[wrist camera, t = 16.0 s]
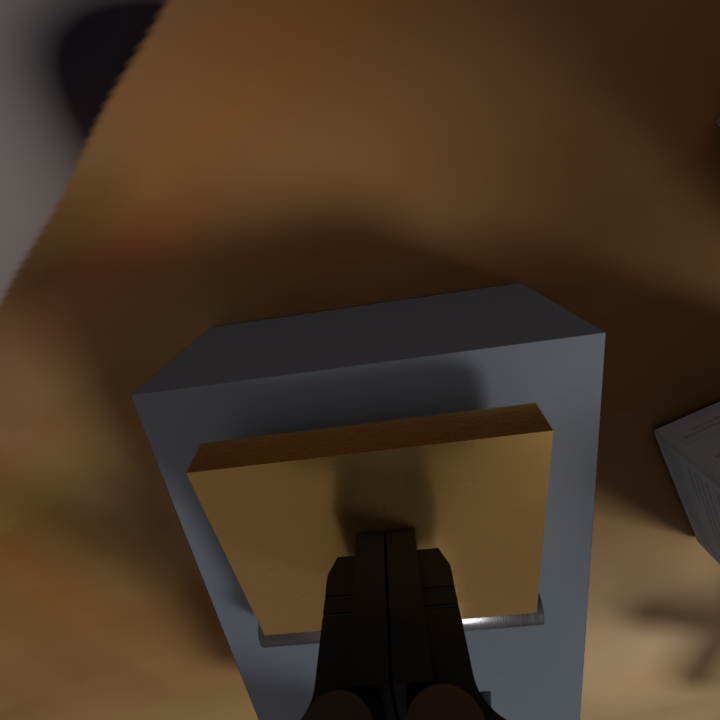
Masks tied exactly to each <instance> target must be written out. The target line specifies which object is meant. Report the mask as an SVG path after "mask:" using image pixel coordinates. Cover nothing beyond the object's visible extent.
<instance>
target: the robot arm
mask: <svg viewBox="0 0 720 720" xmlns="http://www.w3.org/2000/svg"><path fill="white" fill-rule="evenodd" d="M386 539H387V545H386ZM386 539H385V534H384V531H377V532H366V533H356V541H355V556H345V557H337V559H336V561H335V563H334V564H333V566H332V568H331V570H330V572H329V574H328V575H327V583H326V592H325V601H324V609H323V618H322V627H321V635H320V644H319V653H318V662H317V670H316V679H315V687H314V693H313V696H312V700H311V702H310V705H309V707H308V709H307V710H306V712H305V714H304V716H303V717H302V718H301V720H506V719H505V718H503V717H502V716H500V715H499V714H498V713H496V712H495V711H494V710H493V709H492V708H491V707H490V706H489V705H488V704H487V702H486V701H485V700H484V698H483V697H482V695H481V693H480V692H479V690H478V687H477V685H476V683H475V679H474V676H473V671H472V666H471V661H470V657H469V652H468V647H467V642H466V638H465V633H464V628H463V623H462V618H461V614H460V609H459V605H458V599H457V595H456V590H455V585H454V580H453V575H452V571H451V566H450V564H449V562H448V561H447V559H446V558H445V557H444V555H443V554H442V553H441V551H440V550H439V548H430V549H419V550H417V545H416V538H415V530H414V528H407V529H396V530H386Z"/></svg>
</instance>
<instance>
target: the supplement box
mask: <svg viewBox="0 0 720 720" xmlns="http://www.w3.org/2000/svg"><path fill="white" fill-rule="evenodd" d="M654 434H655V437H656V439H657V442H658V444H659V447H660V450H661V452H662V455H663V457H664V460H665V462H666V465H667V467H668V469H669V472H670V475H671V477H672V480H673V482H674V484H675V487H676V490H677V492H678V495H679V497H680V500H681V502H682V504H683V507H684V510H685V512H686V515H687V517H688V519H689V522H690V525H691V527H692V529H693V531H694V534H695V536H696V539H697V541H698V542H699V543H700V544H701V545H702V546H703V548H704V549H705V550H706V551H707V552H708V553H709V554H710V555H711V556H712V557H713V558H714V559H715V560H716V561H717V562H718V563H719V564H720V401H719V402H717V403H715V404H712V405H710V406H708V407H705V408H703V409H701V410H699V411H696V412H694V413H692V414H689V415H687V416H685V417H683V418H680V419H678V420H676V421H674V422H672V423H669V424H667V425H664V426H662V427H660V428H658V429H656V430H654Z"/></svg>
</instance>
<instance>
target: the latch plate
mask: <svg viewBox="0 0 720 720" xmlns="http://www.w3.org/2000/svg"><path fill="white" fill-rule="evenodd" d="M552 440H553V429H552V428H551V426H550V424H549V423H548V421H547V420H546V418H545V416H544V415H543V413H542V412H541V410H540V408H539V407H538V405H537V404H536V403H529V404H521V405H513V406H505V407H496V408H488V409H480V410H472V411H463V412H455V413H447V414H439V415H430V416H422V417H414V418H406V419H397V420H389V421H381V422H373V423H364V424H356V425H348V426H340V427H331V428H323V429H315V430H307V431H299V432H290V433H282V434H274V435H266V436H257V437H249V438H241V439H233V440H224V441H216V442H208V443H201V444H200V446H199V448H198V450H197V452H196V454H195V456H194V458H193V460H192V462H191V464H190V466H189V468H188V470H187V472H186V474H187V476H188V478H189V480H190V482H191V484H192V486H193V488H194V491H195V493H196V495H197V497H198V499H199V501H200V503H201V505H202V507H203V509H204V511H205V513H206V515H207V517H208V519H209V521H210V524H211V526H212V528H213V530H214V532H215V534H216V536H217V538H218V540H219V542H220V544H221V546H222V548H223V550H224V552H225V555H226V557H227V559H228V561H229V563H230V565H231V567H232V569H233V571H234V573H235V575H236V577H237V579H238V581H239V583H240V585H241V588H242V590H243V592H244V594H245V596H246V598H247V600H248V602H249V604H250V606H251V608H252V610H253V612H254V614H255V616H256V618H257V621H258V638H259V643H260V645H261V647H262V648H267V647H280V646H292V645H305V644H317V643H320V635H321V627H322V618H323V609H324V601H325V592H326V583H327V575H328V574H329V572H330V570H331V568H332V566H333V564H334V563H335V561H336V559H337V557H345V556H355V541H356V533H366V532H377V531H384V534H385V539H386V530H396V529H407V528H414V530H415V538H416V545H417V550H419V549H430V548H439V550H440V551H441V553H442V554H443V555H444V557H445V558H446V559H447V561H448V562H449V564H450V566H451V571H452V575H453V580H454V585H455V590H456V595H457V599H458V605H459V609H460V614H461V618H462V623H463V628H464V632H466V631H478V630H491V629H503V628H515V627H528V626H540V625H544V623H545V617H544V610H543V605H542V601H541V597H540V594H539V583H540V572H541V561H542V550H543V539H544V528H545V517H546V506H547V495H548V484H549V473H550V462H551V451H552ZM386 545H387V539H386Z"/></svg>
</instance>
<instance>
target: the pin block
mask: <svg viewBox="0 0 720 720" xmlns="http://www.w3.org/2000/svg"><path fill="white" fill-rule="evenodd" d="M605 335H606V333H605V332H604V331H602V330H600V329H599V328H597V327H595V326H594V325H592V324H590V323H589V322H587V321H585V320H583V319H582V318H580V317H578V316H577V315H575V314H573V313H572V312H570V311H568V310H567V309H565V308H563V307H561V306H560V305H558V304H556V303H555V302H553V301H551V300H550V299H548V298H546V297H545V296H543V295H541V294H539V293H538V292H536V291H534V290H533V289H531V288H529V287H528V286H526V285H524V284H523V283H516V284H509V285H502V286H495V287H488V288H481V289H474V290H467V291H460V292H453V293H446V294H439V295H432V296H425V297H418V298H412V299H405V300H398V301H391V302H384V303H377V304H370V305H363V306H356V307H349V308H342V309H335V310H328V311H321V312H314V313H307V314H300V315H293V316H286V317H279V318H272V319H265V320H258V321H251V322H244V323H237V324H230V325H223V326H216V327H211V328H210V329H209V330H208V331H207V332H205V333H204V334H203V335H202V336H201V337H200V338H198V339H197V340H196V341H195V342H194V343H192V344H191V345H190V346H189V347H188V348H186V349H185V350H184V351H183V352H182V353H181V354H179V355H178V356H177V357H176V358H175V359H173V360H172V361H171V362H170V363H169V364H167V365H166V366H165V367H164V368H163V369H161V370H160V371H159V372H158V373H157V374H156V375H154V376H153V377H152V378H151V379H150V380H148V381H147V382H146V383H145V384H144V385H142V386H141V387H140V388H139V389H138V390H137V391H135V392H134V393H133V394H132V395H131V398H132V400H133V403H134V405H135V408H136V411H137V413H138V416H139V418H140V421H141V423H142V426H143V428H144V431H145V433H146V436H147V438H148V441H149V443H150V446H151V449H152V451H153V454H154V456H155V459H156V461H157V464H158V466H159V469H160V471H161V474H162V476H163V479H164V481H165V484H166V486H167V489H168V492H169V494H170V497H171V499H172V502H173V504H174V507H175V509H176V512H177V514H178V517H179V519H180V522H181V524H182V527H183V529H184V532H185V535H186V537H187V540H188V542H189V545H190V547H191V550H192V552H193V555H194V557H195V560H196V562H197V565H198V567H199V570H200V573H201V575H202V578H203V580H204V583H205V585H206V588H207V590H208V593H209V595H210V598H211V600H212V603H213V605H214V608H215V610H216V613H217V616H218V618H219V621H220V623H221V626H222V628H223V631H224V633H225V636H226V638H227V641H228V643H229V646H230V648H231V651H232V654H233V656H234V659H235V661H236V664H237V666H238V669H239V671H240V674H241V676H242V679H243V681H244V684H245V686H246V689H247V691H248V694H249V697H250V699H251V702H252V704H253V707H254V709H255V712H256V714H257V717H258V719H259V720H301V718H302V717H303V716H304V714H305V712H306V710H307V709H308V707H309V705H310V702H311V700H312V696H313V693H314V687H315V679H316V670H317V662H318V653H319V644H320V643H317V644H305V645H292V646H280V647H267V648H262V647H261V645H260V643H259V638H258V621H257V618H256V616H255V614H254V612H253V610H252V608H251V606H250V604H249V602H248V600H247V598H246V596H245V594H244V592H243V590H242V588H241V585H240V583H239V581H238V579H237V577H236V575H235V573H234V571H233V569H232V567H231V565H230V563H229V561H228V559H227V557H226V555H225V552H224V550H223V548H222V546H221V544H220V542H219V540H218V538H217V536H216V534H215V532H214V530H213V528H212V526H211V524H210V521H209V519H208V517H207V515H206V513H205V511H204V509H203V507H202V505H201V503H200V501H199V499H198V497H197V495H196V493H195V491H194V488H193V486H192V484H191V482H190V480H189V478H188V476H187V474H186V472H187V470H188V468H189V466H190V464H191V462H192V460H193V458H194V456H195V454H196V452H197V450H198V448H199V446H200V444H201V443H208V442H216V441H224V440H233V439H241V438H249V437H257V436H266V435H274V434H282V433H290V432H299V431H307V430H315V429H323V428H331V427H340V426H348V425H356V424H364V423H373V422H381V421H389V420H397V419H406V418H414V417H422V416H430V415H439V414H447V413H455V412H463V411H472V410H480V409H488V408H496V407H505V406H513V405H521V404H529V403H536V404H537V405H538V407H539V408H540V410H541V412H542V413H543V415H544V416H545V418H546V420H547V421H548V423H549V424H550V426H551V428H552V429H553V440H552V451H551V462H550V473H549V484H548V495H547V506H546V517H545V528H544V539H543V550H542V561H541V572H540V583H539V594H540V597H541V601H542V605H543V610H544V617H545V623H544V625H540V626H528V627H515V628H503V629H491V630H478V631H466V632H464V633H465V638H466V642H467V647H468V652H469V657H470V661H471V666H472V671H473V676H474V679H475V683H476V685H477V687H478V690H479V692H480V693H481V695H482V697H483V698H484V700H485V701H486V702H487V704H488V705H489V706H490V707H491V708H492V709H493V710H494V711H495V712H496V713H498V714H499V715H500V716H502V717H503V718H505V719H506V720H580V710H581V695H582V680H583V665H584V650H585V635H586V620H587V605H588V590H589V575H590V560H591V545H592V530H593V515H594V500H595V485H596V470H597V455H598V440H599V425H600V410H601V395H602V380H603V365H604V350H605Z"/></svg>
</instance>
